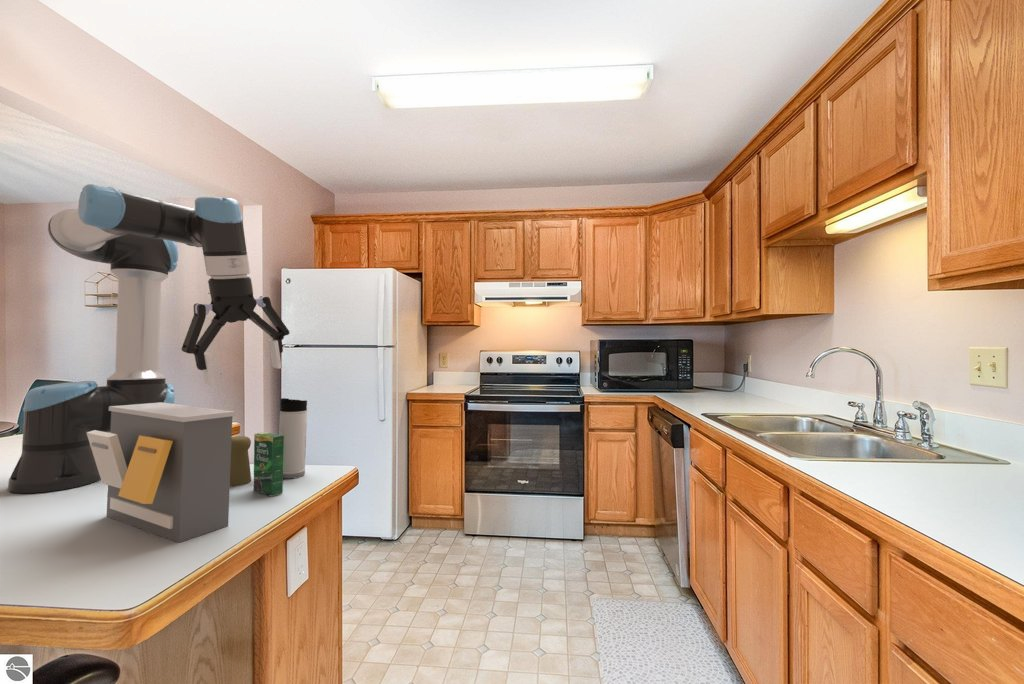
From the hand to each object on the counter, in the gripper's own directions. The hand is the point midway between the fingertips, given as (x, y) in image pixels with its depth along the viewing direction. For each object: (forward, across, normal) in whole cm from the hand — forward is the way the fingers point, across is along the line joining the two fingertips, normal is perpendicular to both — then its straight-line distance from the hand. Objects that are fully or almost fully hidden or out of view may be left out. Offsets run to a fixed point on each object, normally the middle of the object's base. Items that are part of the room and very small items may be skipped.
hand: (245, 375), depth 95 cm
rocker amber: (+13, -24, -12) cm, 30 cm away
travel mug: (+31, +9, +5) cm, 32 cm away
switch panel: (+22, -20, -6) cm, 30 cm away
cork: (+29, -2, +10) cm, 30 cm away
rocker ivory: (+14, -24, 0) cm, 28 cm away
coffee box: (+27, -1, -3) cm, 27 cm away
